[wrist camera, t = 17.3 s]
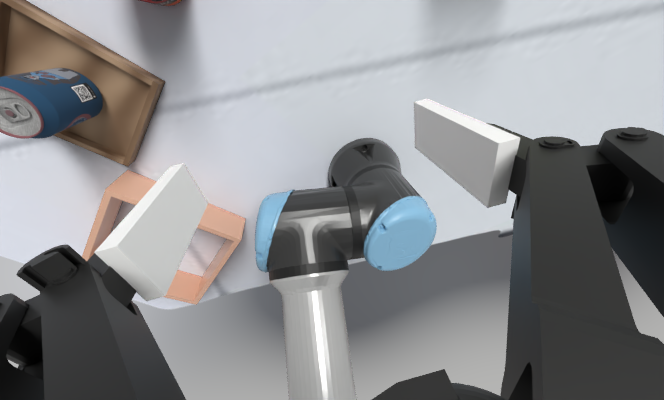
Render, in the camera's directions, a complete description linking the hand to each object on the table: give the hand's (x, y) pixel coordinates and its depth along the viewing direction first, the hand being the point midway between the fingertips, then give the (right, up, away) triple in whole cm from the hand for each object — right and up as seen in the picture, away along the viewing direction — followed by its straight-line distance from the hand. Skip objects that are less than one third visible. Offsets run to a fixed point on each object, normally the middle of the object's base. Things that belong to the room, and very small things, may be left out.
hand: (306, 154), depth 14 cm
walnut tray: (-37, +14, +24) cm, 46 cm away
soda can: (-37, +14, +24) cm, 46 cm away
